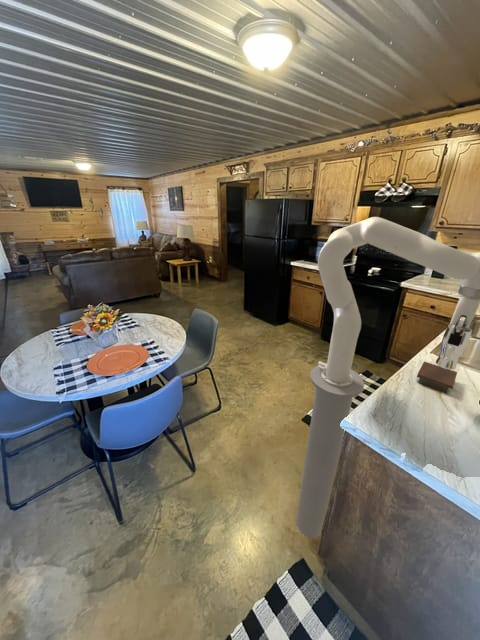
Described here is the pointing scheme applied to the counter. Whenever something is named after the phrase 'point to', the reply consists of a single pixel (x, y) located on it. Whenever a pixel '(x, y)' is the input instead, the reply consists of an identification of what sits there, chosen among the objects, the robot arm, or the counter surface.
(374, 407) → the counter surface
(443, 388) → the lidded box
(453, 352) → the beer glass
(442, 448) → the counter surface
